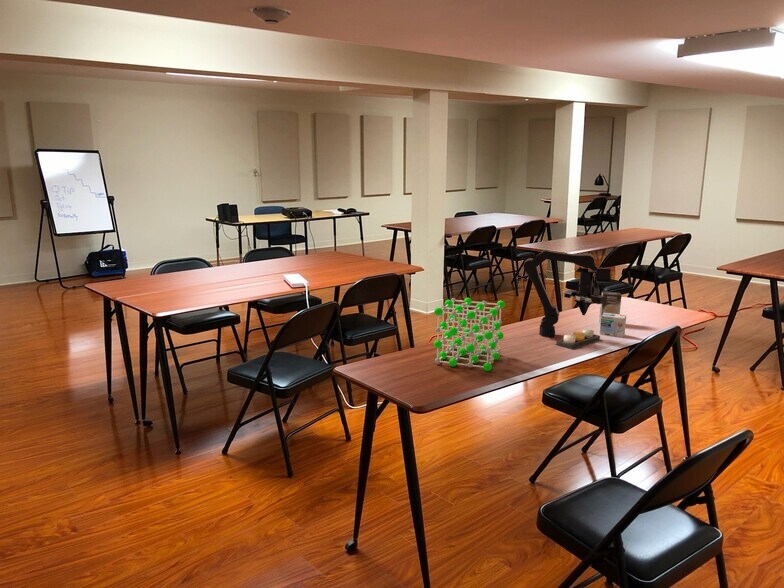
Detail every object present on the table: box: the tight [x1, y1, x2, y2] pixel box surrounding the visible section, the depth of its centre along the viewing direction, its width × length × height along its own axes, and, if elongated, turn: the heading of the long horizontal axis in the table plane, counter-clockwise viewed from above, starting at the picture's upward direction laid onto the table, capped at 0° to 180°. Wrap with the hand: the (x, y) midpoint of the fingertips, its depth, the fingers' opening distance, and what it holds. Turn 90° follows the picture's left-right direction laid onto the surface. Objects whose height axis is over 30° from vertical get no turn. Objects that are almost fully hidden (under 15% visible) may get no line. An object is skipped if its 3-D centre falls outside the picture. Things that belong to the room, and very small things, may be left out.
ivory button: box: [563, 334, 576, 344], centre depth 267 cm, size 5×5×4 cm
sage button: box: [581, 328, 595, 338], centre depth 276 cm, size 5×5×4 cm
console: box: [553, 333, 602, 351], centre depth 272 cm, size 10×23×3 cm, turn 129°
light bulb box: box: [599, 313, 627, 338], centre depth 284 cm, size 11×7×11 cm, turn 62°
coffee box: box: [598, 291, 623, 325], centre depth 306 cm, size 9×6×16 cm
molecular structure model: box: [433, 297, 506, 372], centre depth 251 cm, size 24×25×24 cm
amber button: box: [572, 331, 585, 341], centre depth 271 cm, size 5×5×4 cm
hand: (583, 315), depth 275 cm, fingers closed
